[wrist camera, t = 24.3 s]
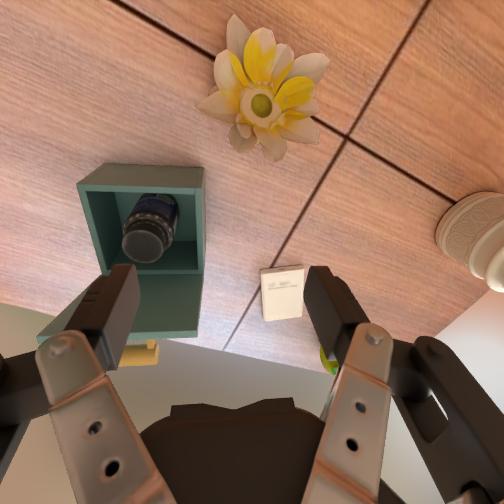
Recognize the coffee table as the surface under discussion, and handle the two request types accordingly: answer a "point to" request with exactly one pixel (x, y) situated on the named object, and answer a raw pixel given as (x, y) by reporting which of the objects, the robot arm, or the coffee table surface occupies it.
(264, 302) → the hard drive
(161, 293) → the lid
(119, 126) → the coffee table surface
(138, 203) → the pill bottle
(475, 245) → the jar
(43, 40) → the coffee table surface
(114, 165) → the chest
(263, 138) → the decorative flower
